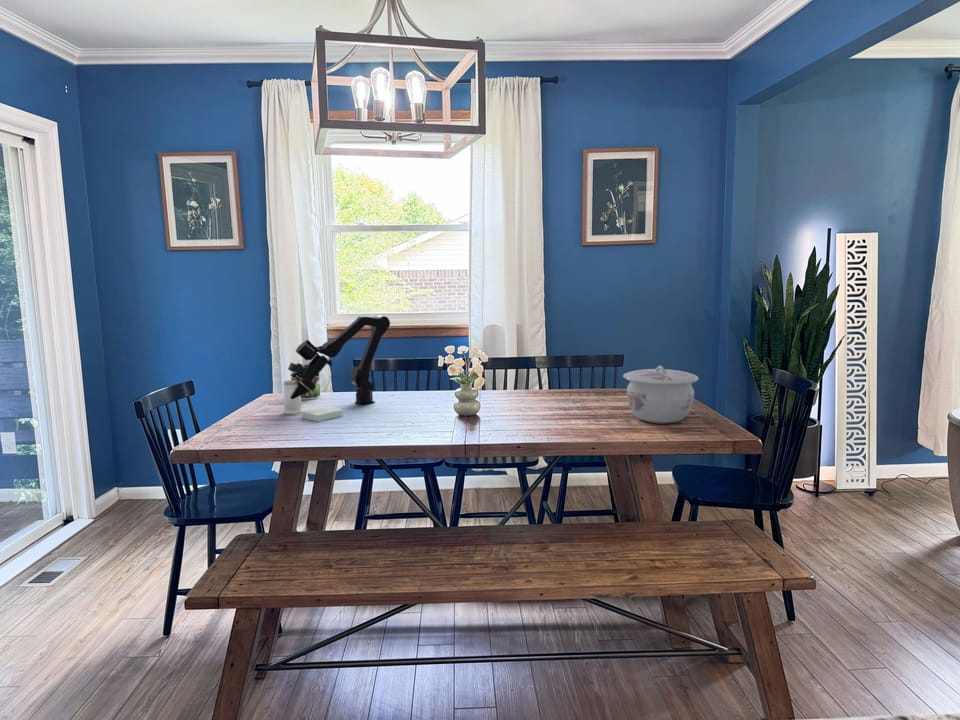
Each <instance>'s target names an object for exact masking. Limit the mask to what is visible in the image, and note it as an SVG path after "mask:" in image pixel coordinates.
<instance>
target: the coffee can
mask: <svg viewBox="0 0 960 720" xmlns="http://www.w3.org/2000/svg"><path fill="white" fill-rule="evenodd" d="M312 382H313V383H314V384H315V385H316V388H315V389H314V390H313V391H311V390H310V389H309V390H310V392H307V393H305V394H302V395H301V401H302V400H303V401H305V400H308V401H310V400H316V399H319V398H321V388H320V387H321V386H320V375H319V376H316V377H315V378H314V380H313V381H312Z"/></svg>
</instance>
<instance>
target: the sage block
mask: <svg viewBox="0 0 960 720" xmlns="http://www.w3.org/2000/svg"><path fill="white" fill-rule="evenodd" d="M301 415H302V419H305V418H306V419H305V420H309V419H310V421H313V420H314V421H313V422H316V421H319V422H322V421H321V420H323V421H327V420H331V419H330V418H332V419H335V417H336V418H339V416H340V417H343V416H344V409H341V408H338V407H337V408H336V407H333V406H327V405H326V406H323V407H317V408H314V409H309V410H303V412H302V413H301ZM326 419H327V420H326Z"/></svg>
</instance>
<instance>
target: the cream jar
mask: <svg viewBox="0 0 960 720" xmlns="http://www.w3.org/2000/svg"><path fill="white" fill-rule="evenodd" d="M297 381H298V382H299V380H291V379H287V380H284V381H283V387H282V388H283V398H284V399H283V400H284V409H283V413H285V415H288V414H293V415H299V414H298V413H300V414H302V412H303V411H304V409H303V408H304V407H302V406H303V405H302V399H301V395H300V396H298V397H296V398H294V399H291V398H290V397H291V396H292V394H293V392H294V391H295V389H296V388H297Z"/></svg>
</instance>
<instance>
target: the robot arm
mask: <svg viewBox="0 0 960 720" xmlns="http://www.w3.org/2000/svg"><path fill="white" fill-rule="evenodd" d="M367 326H368V327H370V336H369V338H368V341H367V344H366V347H365V349H364V352H363V355H362V357H361V360H360V361H359V364H358V365H357V366H356V367H355V366H353V368H352V371H351V373H350V375H349V376H350V382H351V383H352V384H353V385H354V387H355V388H356V390H355V391H356V392H355V401H354V404H358V405H361V406H365V405H370V404H375V403H376V401H374V399H373V397H374V396H373V391H374V388H375V385H374V384H373V383H372V382H370V376H371V375H370V370H371V365H372V363H373V360H374V357H375V354H376V351H377V349H378V347H379V344H380V342H381V339H382V337H384V335H385V334H386V332H387V331H388V329H389V328H390V326H391V321H390V319H389V318H388V317H387V316H385V315H376V316H363V315H359V316H357V318H356V319H355V320H354V321H352V323H350V324H349V325H348V326H347V327H345V329H344V330H343V331H342V332H341V333H339V335H337V336H335V337H334V338H331V339H329V340H328V341H326V342H324V343H323V344H322V345H320V346H315V345H313V343H312V342H311V341H310V340H308V339H305V341H304V342H302V343H301V344H299V345H298V346H297V347H296V349H295V352H296V354H298V355H299V356H301V358H303V360H305V361H310V362H309V363H308V364H304V365H303V364H302V363H300V362H297V363H294V362H290V363H289V366H288V367H287V370H288V371H290V372H292V373H291V374H290V380H299V382H298V381H297V388H296V389H295V391H294V392H293V394H292V396H291V397H290V398H291V399H294V398H296V397H298V396H300V395H302V394H305V393H307V392H310V390H311V391H313V390H314V389H315V388H316V385H315V384H314V383H313V382H312V381H313V380H314V378H315V377H316V376H319V377H320V373H321V371H322V370H323V369H324V368H325V367H326V366H329V367H332V366H333V363H332V359H331V358H336V356H337V355H338V354H340V352H341V351H342V349H343V348H344V345H345V344H346V343H347V342H348V341H349V340H351V339H352V338H353V337H354V336H355V335H356V334H357V333H358V332H359V331H360V330H362V329H363V328H364V327H367ZM360 332H361V331H360ZM320 354H321V355H320ZM327 357H328V358H329V359H328V358H327ZM309 389H310V390H309Z"/></svg>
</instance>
